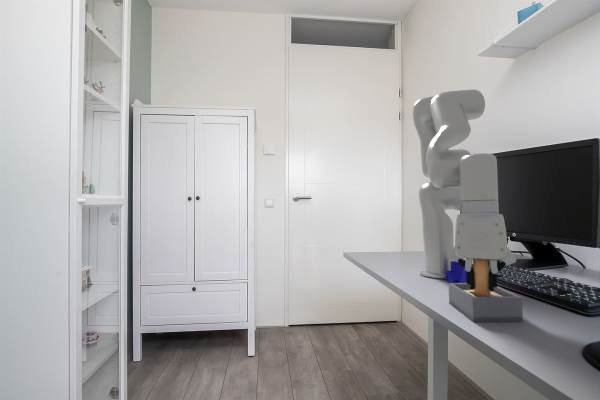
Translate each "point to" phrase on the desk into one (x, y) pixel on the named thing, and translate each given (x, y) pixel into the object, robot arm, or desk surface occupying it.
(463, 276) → the cable clip
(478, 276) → the peg
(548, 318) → the desk surface
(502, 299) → the box
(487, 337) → the desk surface
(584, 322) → the desk surface
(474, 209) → the robot arm
